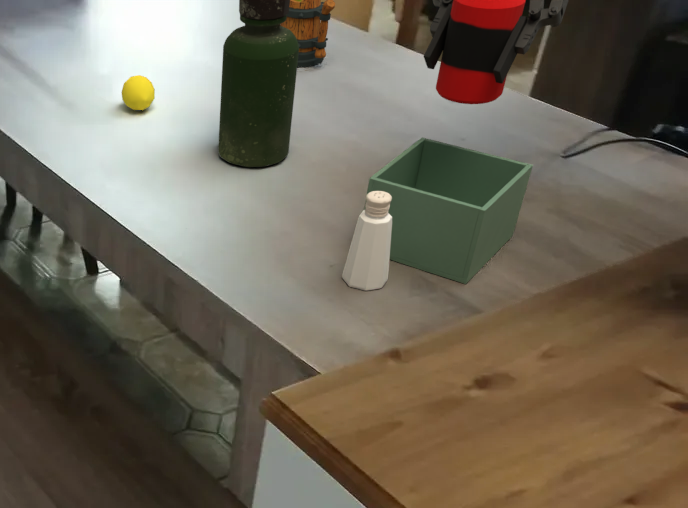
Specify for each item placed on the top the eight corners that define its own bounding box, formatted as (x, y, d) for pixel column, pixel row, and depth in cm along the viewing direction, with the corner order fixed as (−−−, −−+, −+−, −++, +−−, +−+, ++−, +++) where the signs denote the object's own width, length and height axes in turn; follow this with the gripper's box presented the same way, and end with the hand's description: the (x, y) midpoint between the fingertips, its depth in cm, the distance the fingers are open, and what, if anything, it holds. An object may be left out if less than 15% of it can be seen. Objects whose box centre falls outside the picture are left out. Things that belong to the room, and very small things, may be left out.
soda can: (424, 85, 113) (444, -21, 105) (481, 78, 114) (506, -28, 106) (453, 108, 107) (477, -2, 99) (514, 100, 108) (542, -10, 100)
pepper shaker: (331, 277, 112) (344, 193, 105) (363, 262, 115) (377, 179, 107) (365, 296, 109) (381, 211, 102) (397, 281, 111) (414, 196, 104)
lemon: (160, 114, 152) (160, 81, 148) (129, 119, 151) (128, 86, 147) (146, 99, 157) (146, 66, 153) (116, 104, 156) (115, 71, 152)
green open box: (512, 236, 118) (533, 164, 111) (465, 284, 110) (485, 210, 104) (408, 205, 125) (422, 137, 118) (357, 249, 117) (369, 178, 111)
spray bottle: (248, 133, 144) (261, -42, 128) (302, 152, 138) (322, -29, 122) (203, 155, 139) (210, -25, 123) (257, 176, 134) (272, -10, 117)
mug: (257, 55, 170) (262, -12, 162) (301, 44, 173) (308, -23, 165) (301, 77, 161) (309, 6, 153) (347, 64, 164) (357, -5, 156)
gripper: (651, -89, 102) (554, 104, 104) (472, -107, 113) (387, 68, 115) (653, -136, 96) (550, 71, 98) (463, -150, 106) (373, 36, 108)
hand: (462, 69), depth 106 cm, fingers closed on soda can, 7 cm apart
